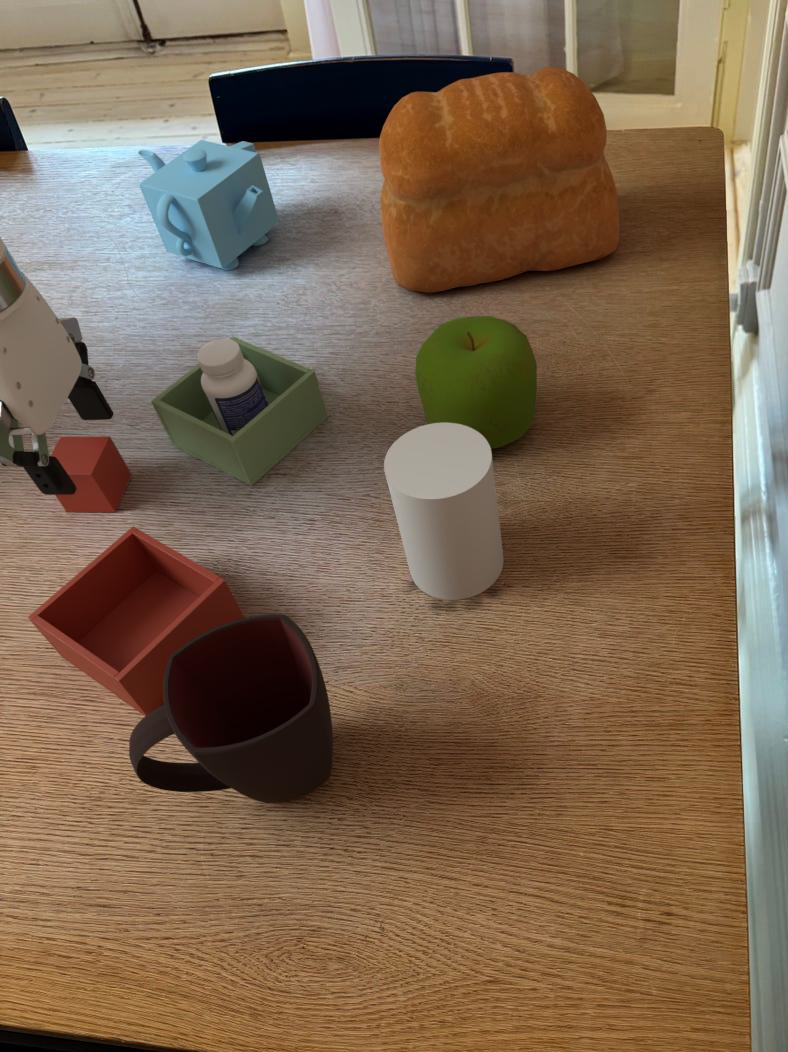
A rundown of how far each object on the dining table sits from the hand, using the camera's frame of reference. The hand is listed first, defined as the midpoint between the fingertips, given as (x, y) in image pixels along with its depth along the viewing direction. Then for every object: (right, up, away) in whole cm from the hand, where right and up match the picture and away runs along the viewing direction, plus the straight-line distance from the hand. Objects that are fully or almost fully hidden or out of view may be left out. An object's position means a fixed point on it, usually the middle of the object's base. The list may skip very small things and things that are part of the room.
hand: (80, 453), depth 81 cm
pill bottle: (+14, +4, +7) cm, 16 cm away
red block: (0, -3, +4) cm, 5 cm away
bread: (+39, +28, +22) cm, 53 cm away
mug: (+21, -27, -15) cm, 37 cm away
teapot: (+5, +31, +28) cm, 42 cm away
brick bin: (+9, -17, -7) cm, 20 cm away
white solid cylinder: (+35, -11, -5) cm, 37 cm away
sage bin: (+14, +4, +7) cm, 16 cm away
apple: (+37, +3, +5) cm, 37 cm away
